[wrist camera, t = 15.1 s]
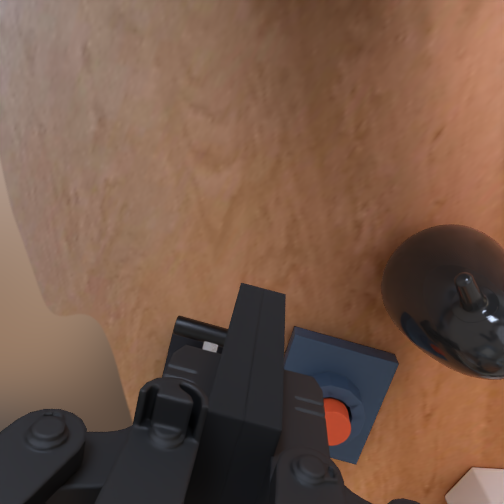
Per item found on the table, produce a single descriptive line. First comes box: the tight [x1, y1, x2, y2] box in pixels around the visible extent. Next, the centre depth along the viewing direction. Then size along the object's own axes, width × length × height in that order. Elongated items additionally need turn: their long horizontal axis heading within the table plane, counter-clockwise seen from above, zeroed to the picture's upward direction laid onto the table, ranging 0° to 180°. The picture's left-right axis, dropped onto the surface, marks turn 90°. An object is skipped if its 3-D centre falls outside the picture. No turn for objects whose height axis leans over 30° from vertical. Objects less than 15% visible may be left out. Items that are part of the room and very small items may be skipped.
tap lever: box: [173, 316, 228, 353], centre depth 34 cm, size 13×6×2 cm, turn 164°
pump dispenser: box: [381, 225, 504, 380], centre depth 33 cm, size 10×10×15 cm
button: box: [323, 398, 351, 446], centre depth 41 cm, size 4×4×2 cm
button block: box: [284, 326, 399, 464], centre depth 43 cm, size 12×10×4 cm
